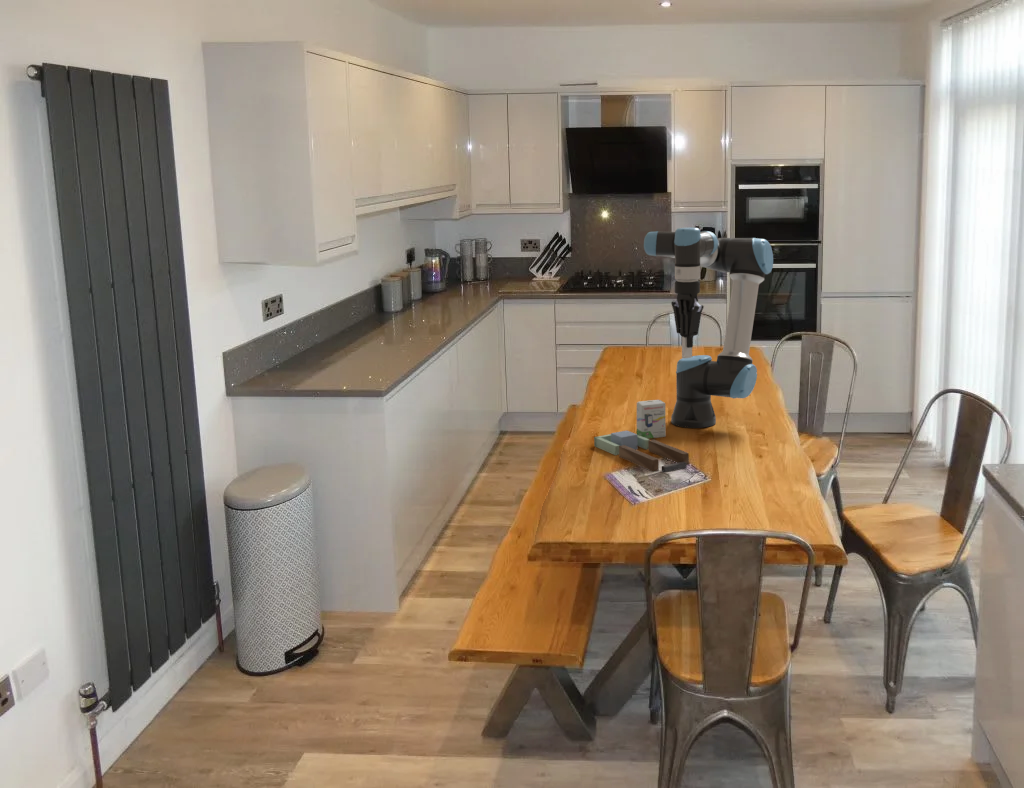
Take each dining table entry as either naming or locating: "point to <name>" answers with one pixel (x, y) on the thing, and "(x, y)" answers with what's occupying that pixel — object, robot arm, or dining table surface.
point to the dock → (613, 448)
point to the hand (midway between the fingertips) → (687, 357)
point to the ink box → (651, 419)
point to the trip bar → (674, 466)
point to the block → (625, 439)
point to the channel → (655, 448)
